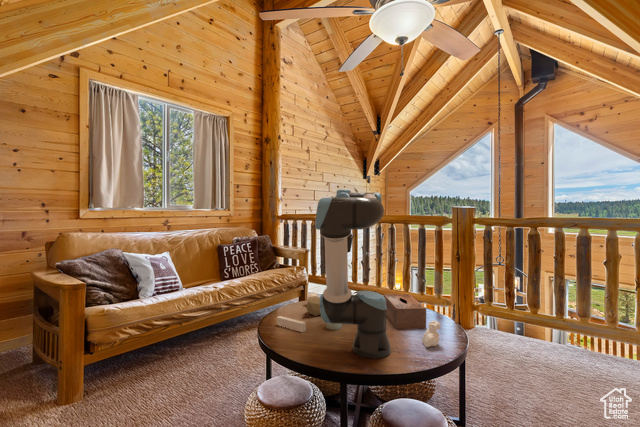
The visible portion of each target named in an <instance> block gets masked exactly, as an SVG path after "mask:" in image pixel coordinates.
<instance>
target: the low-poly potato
mask: <svg viewBox="0 0 640 427" xmlns="http://www.w3.org/2000/svg"><path fill="white" fill-rule="evenodd" d="M305 308H306V311H307V313H308V314H310V315H312V316H315V317H316V316H321V314H320V296H318V295H317V296H313V297H309V299H308V302H306V305H305Z"/></svg>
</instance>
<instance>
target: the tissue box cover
mask: <svg viewBox="0 0 640 427" xmlns="http://www.w3.org/2000/svg"><path fill="white" fill-rule="evenodd" d="M383 296H384V297H385V299H386V307H387V309H386V318H387V319H389V321H390V322H391V324H392V325H393V326H394V328H395V329H396V330H402V329H403V330H405V329H406V330H407V329H408V330H409V329H412V330H413V329H416V328H417V329H427V308H426V307H425V305H423V304H422V303H420V302H419V301H418V300H417V299H415V298H414V297H413V296H412V295H411V294H410V293H397V294H396V293H395V294H394V293H393V294H392V293H391V294H390V293H385V294H383Z"/></svg>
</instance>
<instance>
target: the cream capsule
mask: <svg viewBox="0 0 640 427" xmlns="http://www.w3.org/2000/svg"><path fill="white" fill-rule="evenodd" d="M313 296H317V297H318V293H317V292H308V293H307V295H306V297H307V298H306V301H307V302H308V299H309V297H313ZM307 302H306V303H307Z"/></svg>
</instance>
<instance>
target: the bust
mask: <svg viewBox="0 0 640 427" xmlns="http://www.w3.org/2000/svg"><path fill="white" fill-rule="evenodd" d="M427 325H428V328H426V331H425V332H424V333H423V336H422V339H421V341H422V343H423V345H424V346H425V347H426V348H430V347H436V346H437V345H438V344H439V342H440V333H439V332H438V330H441V328H442V327H441V325H442V324H441V323H440V322H439V321H437V320H432V321H430V322H428V324H427Z"/></svg>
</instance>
